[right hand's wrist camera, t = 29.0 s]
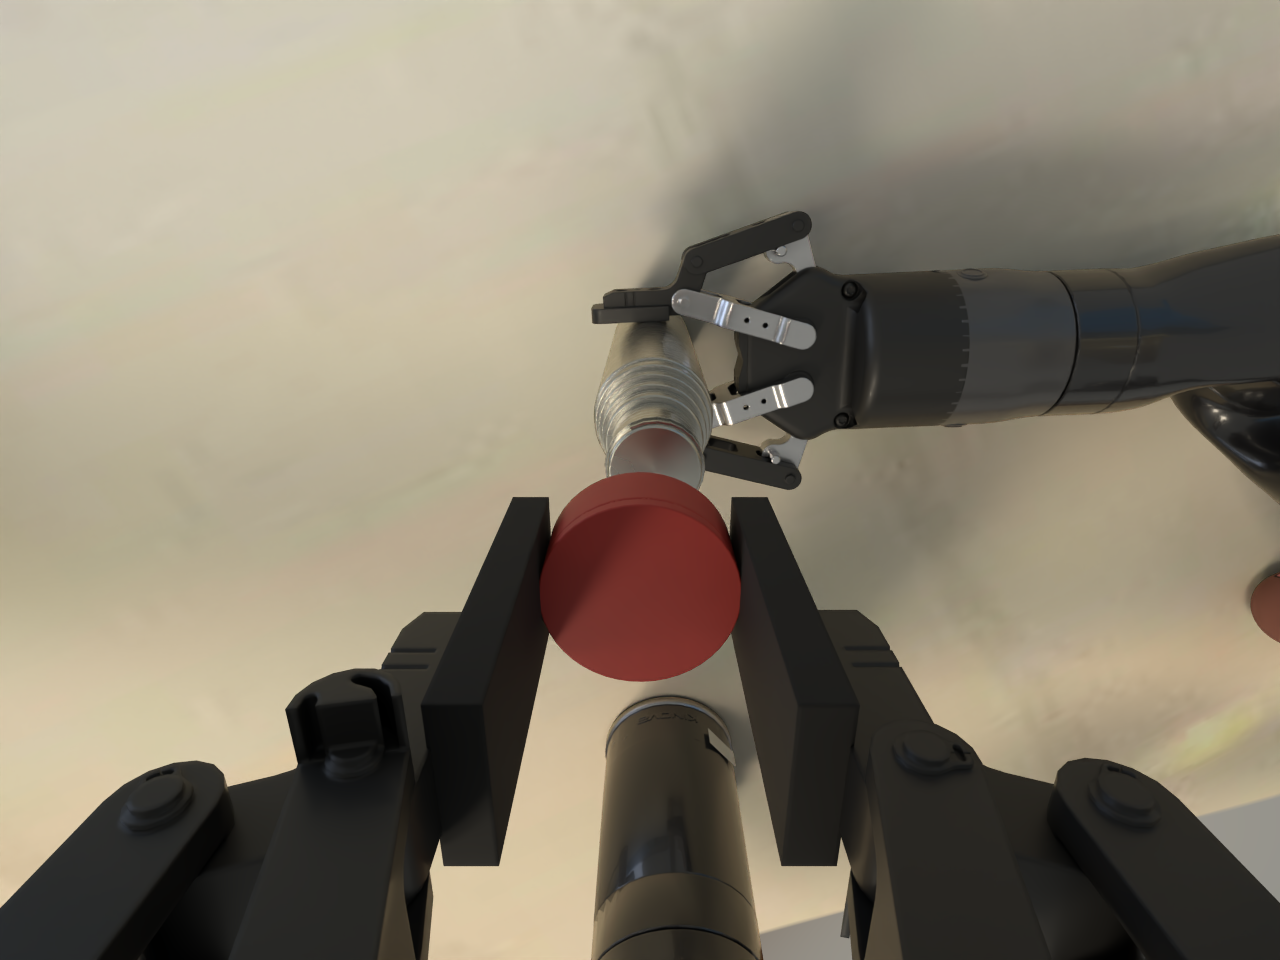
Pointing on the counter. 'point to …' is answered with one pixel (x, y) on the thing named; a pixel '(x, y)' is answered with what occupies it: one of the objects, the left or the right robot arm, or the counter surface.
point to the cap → (640, 578)
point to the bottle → (654, 403)
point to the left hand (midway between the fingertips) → (598, 364)
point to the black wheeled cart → (1267, 606)
